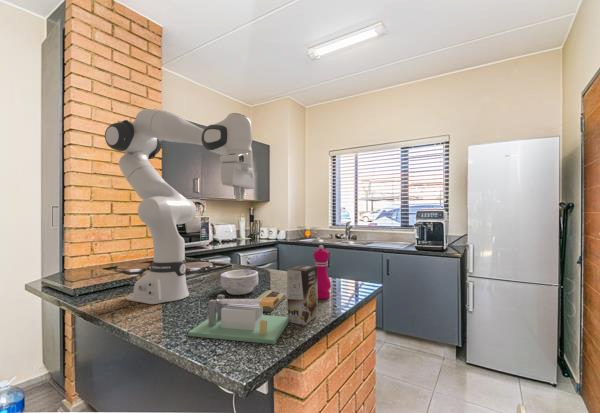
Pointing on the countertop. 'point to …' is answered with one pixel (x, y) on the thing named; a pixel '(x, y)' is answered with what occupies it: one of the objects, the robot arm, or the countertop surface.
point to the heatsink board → (243, 334)
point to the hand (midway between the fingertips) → (239, 200)
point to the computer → (271, 294)
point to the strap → (250, 301)
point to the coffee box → (302, 294)
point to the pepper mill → (322, 273)
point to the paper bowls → (239, 281)
